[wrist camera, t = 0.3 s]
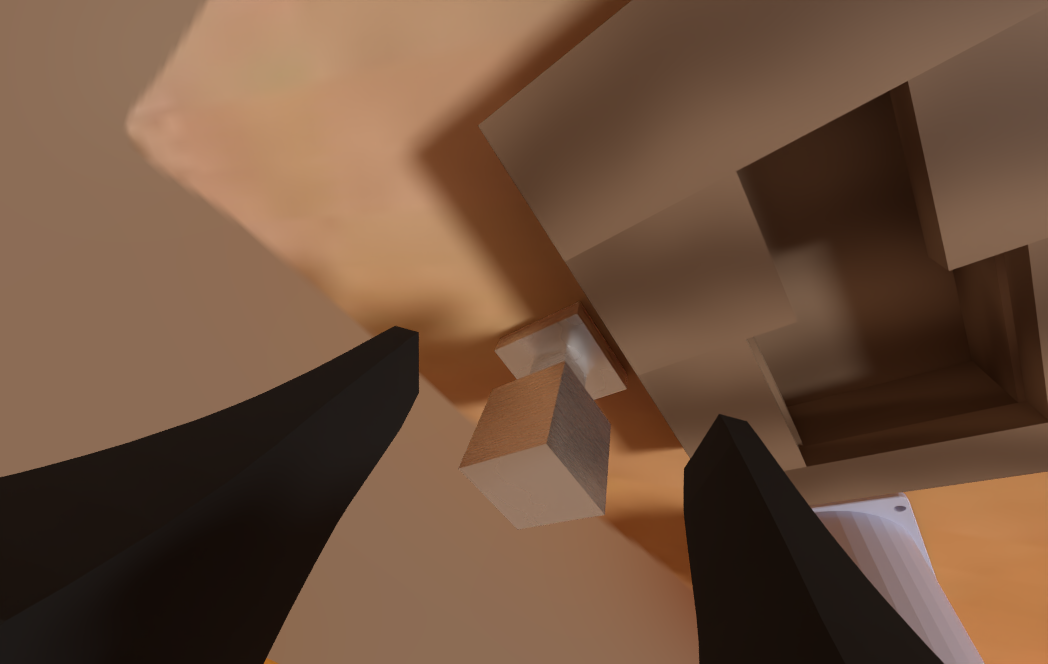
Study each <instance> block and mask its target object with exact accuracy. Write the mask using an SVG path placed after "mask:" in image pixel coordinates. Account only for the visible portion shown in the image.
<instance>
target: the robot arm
mask: <svg viewBox="0 0 1048 664" xmlns="http://www.w3.org/2000/svg"><path fill="white" fill-rule="evenodd" d="M418 393H419V332H416V331H412V330H408V329H404V328H401V327H397V326H394V327H392V328H390V329H388V330H386V331H385V332H383V333H381V334H379V335H377V336H375V337H373V338H372V339H370V340H368V341H366V342H364V343H362V344H361V345H359V346H357V347H355V348H353V349H352V350H350V351H348V352H346V353H344V354H342V355H340V356H338V357H336V358H334V359H333V360H331V361H329V362H327V363H325V364H323V365H321V366H319V367H317V368H315V369H313V370H311V371H309V372H307V373H305V374H303V375H301V376H299V377H297V378H294V379H292V380H290V381H288V382H286V383H284V384H282V385H280V386H278V387H275V388H273V389H271V390H269V391H267V392H265V393H262V394H260V395H258V396H256V397H253V398H251V399H249V400H246V401H244V402H241V403H239V404H237V405H234V406H231V407H229V408H226V409H224V410H221V411H218V412H216V413H213V414H211V415H208V416H206V417H203V418H200V419H197V420H195V421H192V422H189V423H186V424H183V425H180V426H177V427H174V428H171V429H168V430H165V431H162V432H159V433H156V434H153V435H150V436H147V437H144V438H141V439H138V440H135V441H132V442H129V443H125V444H123V445H119V446H115V447H112V448H109V449H105V450H102V451H98V452H95V453H92V454H88V455H85V456H81V457H77V458H74V459H70V460H67V461H63V462H60V463H56V464H52V465H48V466H45V467H41V468H37V469H33V470H29V471H25V472H21V473H17V474H13V475H9V476H5V477H0V664H264V662H265V660H266V658H267V656H268V654H269V651H270V650H271V648H272V645H273V643H274V642H275V639H276V638H277V635H278V634H279V632H280V630H281V627H282V625H283V623H284V621H285V620H286V618H287V615H288V613H289V611H290V610H291V608H292V606H293V604H294V602H295V600H296V598H297V596H298V594H299V593H300V591H301V588H302V587H303V585H304V583H305V581H306V579H307V577H308V575H309V574H310V572H311V570H312V568H313V566H314V564H315V562H316V561H317V559H318V557H319V555H320V553H321V552H322V550H323V548H324V546H325V544H326V543H327V541H328V539H329V537H330V535H331V533H332V532H333V530H334V528H335V526H336V524H337V523H338V521H339V520H340V518H341V516H342V515H343V513H344V512H345V510H346V508H347V507H348V505H349V504H350V502H351V501H352V499H353V498H354V496H355V495H356V494H357V492H358V491H359V489H360V488H361V486H362V485H363V483H364V481H365V480H366V479H367V477H368V476H369V474H370V473H371V471H372V470H373V469H374V467H375V465H376V464H377V463H378V461H379V460H380V458H381V457H382V455H383V454H384V452H385V451H386V449H387V448H388V446H389V445H390V443H391V442H392V441H393V439H394V438H395V436H396V435H397V433H398V432H399V430H400V428H401V427H402V425H403V423H404V421H405V419H406V417H407V415H408V413H409V411H410V410H411V408H412V405H413V403H414V401H415V399H416V397H417V395H418ZM684 519H685V528H686V536H687V545H688V553H689V561H690V569H691V577H692V585H693V593H694V600H695V607H696V616H697V628H698V639H699V661H700V662H699V664H985V663H984V661H983V660H982V658H981V656H980V654H979V653H978V651H977V649H976V647H975V646H974V644H973V642H972V641H971V639H970V637H969V635H968V634H967V632H966V630H965V628H964V627H963V625H962V623H961V621H960V620H959V618H958V616H957V614H956V613H955V611H954V609H953V607H952V606H951V604H950V602H949V601H948V599H947V597H946V595H945V594H944V592H943V590H942V588H941V587H940V585H939V583H938V581H937V579H936V576H935V574H934V571H933V568H932V565H931V562H930V559H929V556H928V554H927V551H926V548H925V545H924V542H923V539H922V536H921V534H920V531H919V528H918V525H917V522H916V519H915V516H914V514H913V511H912V508H911V505H910V502H909V500H908V498H907V497H906V495H905V494H904V493H902V492H900V493H893V494H886V495H879V496H872V497H865V498H858V499H851V500H844V501H837V502H830V503H823V504H816V505H808V503H807V502H806V501H805V499H804V498H803V497H802V495H801V494H800V493H799V491H798V490H797V488H796V487H795V486H794V484H793V483H792V482H791V480H790V479H789V478H788V476H787V475H786V473H785V472H784V471H783V469H782V468H781V467H780V465H779V464H778V462H777V461H776V460H775V458H774V457H773V455H772V454H771V453H770V451H769V450H768V449H767V447H766V446H765V444H764V443H763V442H762V440H761V439H760V438H759V436H758V435H757V434H756V432H755V431H754V430H753V428H752V427H751V426H750V424H749V423H748V422H747V421H744V420H741V419H737V418H733V417H730V416H726V415H722V414H719V415H718V416H717V418H716V420H715V421H714V423H713V424H712V426H711V427H710V429H709V431H708V432H707V434H706V435H705V437H704V438H703V440H702V442H701V443H700V445H699V446H698V448H697V449H696V451H695V452H694V454H693V456H692V457H691V459H690V460H689V462H688V463H687V465H686V467H685V468H684Z"/></svg>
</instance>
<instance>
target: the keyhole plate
mask: <svg viewBox="0 0 1048 664" xmlns="http://www.w3.org/2000/svg"><path fill="white" fill-rule="evenodd" d="M478 127H479V128H480V130H481V131H482V133H483V134H484V136H485V138H486V139H487V141H488V142H489V144H490V145H491V147H492V149H493V150H494V152H495V153H496V155H497V156H498V158H499V160H500V161H501V163H502V164H503V166H504V167H505V169H506V171H507V172H508V174H509V175H510V177H511V178H512V180H513V182H514V183H515V185H516V186H517V188H518V189H519V191H520V192H521V194H522V196H523V197H524V199H525V200H526V202H527V203H528V205H529V207H530V208H531V210H532V211H533V213H534V214H535V216H536V218H537V219H538V221H539V222H540V224H541V225H542V227H543V229H544V230H545V232H546V233H547V235H548V236H549V238H550V240H551V241H552V243H553V244H554V246H555V247H556V249H557V251H558V252H559V254H560V255H561V257H562V258H563V260H564V261H565V263H566V265H567V266H568V268H569V269H570V271H571V272H572V274H573V276H574V277H575V279H576V280H577V282H578V283H579V285H580V287H581V288H582V290H583V291H584V293H585V294H586V296H587V298H588V299H589V301H590V302H591V304H592V305H593V307H594V309H595V310H596V312H597V313H598V315H599V316H600V318H601V320H602V321H603V323H604V324H605V326H606V327H607V329H608V330H609V332H610V334H611V335H612V337H613V338H614V340H615V341H616V343H617V345H618V346H619V348H620V349H621V351H622V352H623V354H624V356H625V357H626V359H627V360H628V362H629V363H630V365H631V367H632V368H633V370H634V371H635V373H636V374H637V376H638V378H639V379H640V381H641V382H642V384H643V385H644V387H645V389H646V390H647V392H648V393H649V395H650V396H651V398H652V399H653V401H654V403H655V404H656V406H657V407H658V409H659V410H660V412H661V414H662V415H663V417H664V418H665V420H666V421H667V423H668V425H669V426H670V428H671V429H672V431H673V432H674V434H675V436H676V437H677V439H678V440H679V442H680V443H681V445H682V447H683V448H684V450H685V451H686V453H687V454H688V456H689V458H690V459H691V457H692V456H693V454H694V452H695V451H696V449H697V448H698V446H699V445H700V443H701V442H702V440H703V438H704V437H705V435H706V434H707V432H708V431H709V429H710V427H711V426H712V424H713V423H714V421H715V420H716V418H717V416H718V415H719V414H722V415H726V416H730V417H733V418H737V419H741V420H744V421H747V422H748V423H749V424H750V426H751V427H752V428H753V430H754V431H755V432H756V434H757V435H758V436H759V438H760V439H761V440H762V442H763V443H764V444H765V446H766V447H767V449H768V450H769V451H770V453H771V454H772V455H773V457H774V458H775V460H776V461H777V462H778V464H779V465H780V467H781V468H782V469H783V471H784V472H785V473H786V475H787V476H788V478H789V479H790V480H791V482H792V483H793V484H794V486H795V487H796V488H797V490H798V491H799V493H800V494H801V495H802V497H803V498H804V499H805V501H806V502H807V503H808V505H816V504H823V503H830V502H837V501H844V500H851V499H858V498H865V497H872V496H879V495H886V494H893V493H900V492H907V491H914V490H921V489H928V488H935V487H942V486H949V485H956V484H963V483H970V482H977V481H984V480H991V479H998V478H1005V477H1012V476H1019V475H1026V474H1033V473H1040V472H1047V471H1048V0H632V1H630V2H629V3H628V4H627V5H625V6H624V7H623V8H622V9H620V10H619V11H618V12H617V13H616V14H614V15H613V16H612V17H611V18H609V19H608V20H607V21H606V22H605V23H603V24H602V25H601V26H600V27H598V28H597V29H596V30H595V31H593V32H592V33H591V34H590V35H589V36H587V37H586V38H585V39H584V40H582V41H581V42H580V43H579V44H577V45H576V46H575V47H574V48H573V49H571V50H570V51H569V52H568V53H566V54H565V55H564V56H563V57H561V58H560V59H559V60H558V61H557V62H555V63H554V64H553V65H552V66H550V67H549V68H548V69H547V70H545V71H544V72H543V73H542V74H541V75H539V76H538V77H537V78H536V79H534V80H533V81H532V82H531V83H530V84H528V85H527V86H526V87H525V88H523V89H522V90H521V91H520V92H518V93H517V94H516V95H515V96H514V97H512V98H511V99H510V100H509V101H507V102H506V103H505V104H504V105H502V106H501V107H500V108H499V109H498V110H496V111H495V112H494V113H493V114H491V115H490V116H489V117H488V118H486V119H485V120H484V121H483V122H482V123H480V124H479V125H478Z"/></svg>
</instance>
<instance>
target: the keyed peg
mask: <svg viewBox="0 0 1048 664" xmlns="http://www.w3.org/2000/svg"><path fill="white" fill-rule="evenodd" d="M494 351H495V352H496V354H497V355H498V356H499V357H500V359H501V360H502V361H503V362H504V364H505V365H506V366H507V368H508V369H509V370H510V371H511V373H512V374H513V375H514V376H515V378H516V379H517V380H514V381H512V382H509V383H507V384H504V385H502V386H499V387H497V388H494V389H492V391H491V394H490V396H489V398H488V401H487V403H486V405H485V408H484V410H483V412H482V415H481V417H480V419H479V421H478V424H477V426H476V428H475V431H474V433H473V436H472V438H471V440H470V442H469V445H468V447H467V450H466V452H465V454H464V456H463V459H462V461H461V463H460V466H459V468H458V469H459V470H460V471H461V472H462V473H463V474H464V475H465V476H466V477H467V478H468V479H469V480H470V481H471V482H472V483H473V484H474V485H475V486H476V487H477V488H478V489H479V490H480V491H481V492H482V493H483V494H484V495H485V496H486V498H487V499H488V500H489V501H490V502H491V503H492V504H493V505H494V506H495V507H496V508H497V509H498V510H499V511H500V512H501V513H502V514H503V515H504V516H505V517H506V518H507V519H508V520H509V521H510V522H511V523H512V524H513V525H514V526H515V527H516V528H517V529H524V528H529V527H536V526H542V525H548V524H554V523H560V522H566V521H571V520H578V519H583V518H589V517H595V516H601V515H605V504H606V489H607V474H608V459H609V444H610V429H611V424H610V422H609V421H608V420H607V418H606V417H605V415H604V414H603V413H602V411H601V410H600V408H599V407H598V406H597V404H596V403H595V401H594V400H595V399H598V398H601V397H604V396H607V395H611V394H614V393H617V392H620V391H623V390H626V389H627V373H626V371H625V370H624V368H623V367H622V365H621V364H620V362H619V360H618V359H617V357H616V356H615V354H614V353H613V351H612V350H611V348H610V347H609V345H608V343H607V342H606V340H605V339H604V337H603V336H602V334H601V333H600V331H599V330H598V328H597V327H596V325H595V323H594V322H593V320H592V319H591V317H590V316H589V314H588V313H587V311H586V310H585V308H584V306H583V305H582V303H581V302H580V301H579V302H577V303H575V304H572V305H570V306H568V307H566V308H564V309H562V310H560V311H557V312H555V313H553V314H551V315H549V316H547V317H544V318H542V319H540V320H538V321H536V322H534V323H531V324H529V325H527V326H525V327H523V328H521V329H519V330H516V331H514V332H512V333H510V334H508V335H506V336H503V337H501V338H500V340H499V342H498V344H497V346H496V348H495V350H494Z"/></svg>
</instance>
